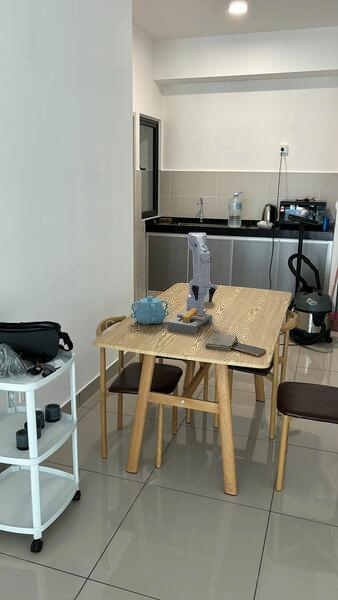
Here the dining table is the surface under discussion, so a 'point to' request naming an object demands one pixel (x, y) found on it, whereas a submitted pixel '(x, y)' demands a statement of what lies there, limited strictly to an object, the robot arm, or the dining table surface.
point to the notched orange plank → (190, 315)
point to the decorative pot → (149, 311)
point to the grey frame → (188, 327)
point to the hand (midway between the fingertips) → (203, 301)
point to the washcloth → (221, 341)
